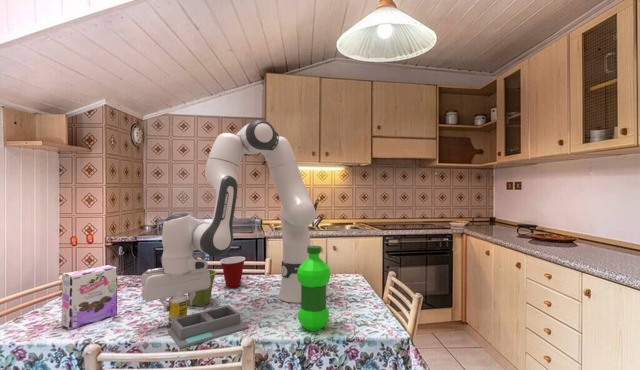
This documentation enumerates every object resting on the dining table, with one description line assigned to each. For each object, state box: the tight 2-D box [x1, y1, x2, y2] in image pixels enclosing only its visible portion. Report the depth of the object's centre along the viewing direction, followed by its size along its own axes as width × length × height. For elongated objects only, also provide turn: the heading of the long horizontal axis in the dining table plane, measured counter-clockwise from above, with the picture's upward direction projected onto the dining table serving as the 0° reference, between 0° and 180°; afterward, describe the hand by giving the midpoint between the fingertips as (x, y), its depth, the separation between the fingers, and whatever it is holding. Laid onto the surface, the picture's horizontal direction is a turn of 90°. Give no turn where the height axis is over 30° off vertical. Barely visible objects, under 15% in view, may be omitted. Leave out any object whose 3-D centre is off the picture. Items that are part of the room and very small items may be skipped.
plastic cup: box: [219, 256, 246, 289], centre depth 142 cm, size 11×11×12 cm
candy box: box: [61, 264, 118, 330], centre depth 106 cm, size 14×6×16 cm, turn 148°
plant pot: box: [187, 268, 218, 307], centre depth 122 cm, size 12×12×11 cm
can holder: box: [167, 305, 250, 349], centre depth 99 cm, size 20×12×4 cm, turn 130°
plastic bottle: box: [297, 245, 331, 332], centre depth 102 cm, size 10×10×25 cm
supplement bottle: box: [168, 291, 188, 324], centre depth 105 cm, size 5×5×10 cm
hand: (178, 308), depth 105 cm, fingers closed on supplement bottle, 5 cm apart
